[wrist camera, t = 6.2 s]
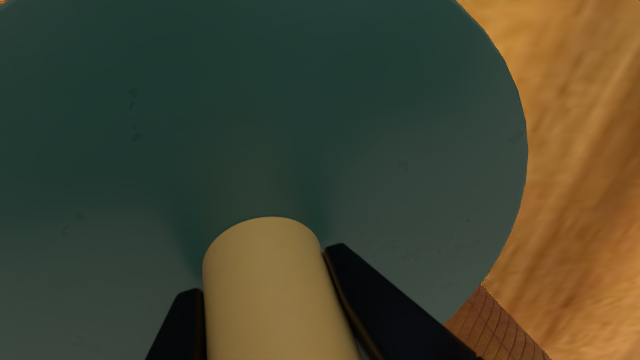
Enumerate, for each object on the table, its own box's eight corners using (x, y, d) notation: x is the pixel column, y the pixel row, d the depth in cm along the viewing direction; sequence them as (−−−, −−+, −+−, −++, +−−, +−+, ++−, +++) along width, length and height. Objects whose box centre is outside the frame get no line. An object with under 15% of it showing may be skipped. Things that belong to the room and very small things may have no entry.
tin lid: (483, 305, 14) (593, 464, 10) (108, 433, 13) (80, 664, 9) (528, -156, 7) (933, -180, 3) (-308, 31, 6) (-1230, 345, 2)
